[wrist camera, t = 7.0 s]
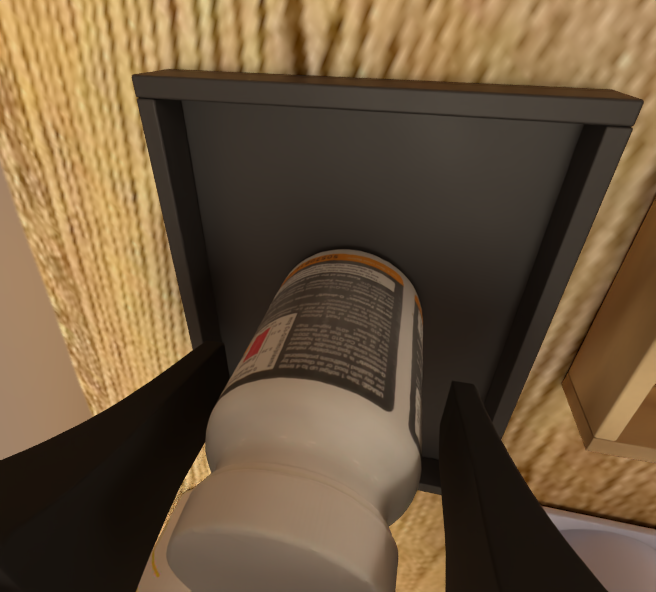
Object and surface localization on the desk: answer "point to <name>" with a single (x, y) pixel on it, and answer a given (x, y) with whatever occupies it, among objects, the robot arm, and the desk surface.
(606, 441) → the wooden frame
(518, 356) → the tray
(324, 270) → the pill bottle
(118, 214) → the desk surface
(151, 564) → the off-white cylinder
